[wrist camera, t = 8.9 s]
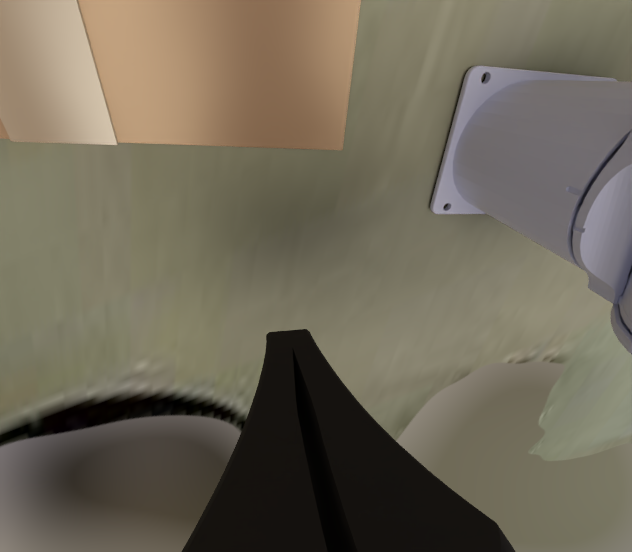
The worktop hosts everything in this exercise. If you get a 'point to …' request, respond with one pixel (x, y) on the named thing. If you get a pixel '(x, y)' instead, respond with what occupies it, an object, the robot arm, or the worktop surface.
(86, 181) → the worktop surface
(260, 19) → the lid
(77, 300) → the worktop surface
